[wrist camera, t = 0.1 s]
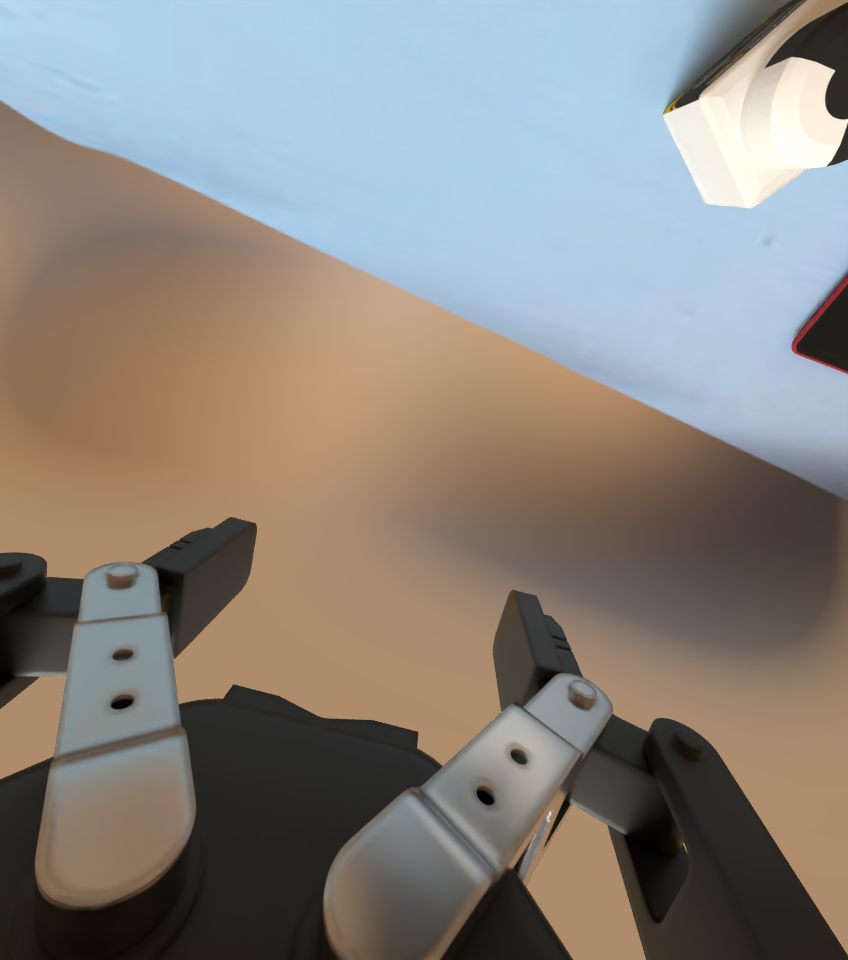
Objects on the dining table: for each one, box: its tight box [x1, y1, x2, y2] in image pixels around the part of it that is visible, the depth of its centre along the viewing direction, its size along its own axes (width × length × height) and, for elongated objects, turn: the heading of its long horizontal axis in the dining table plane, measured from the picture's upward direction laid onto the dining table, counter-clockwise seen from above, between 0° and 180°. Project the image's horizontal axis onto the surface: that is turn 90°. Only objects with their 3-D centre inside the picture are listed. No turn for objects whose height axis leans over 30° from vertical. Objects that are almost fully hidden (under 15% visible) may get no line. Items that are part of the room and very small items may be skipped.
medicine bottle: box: [663, 0, 848, 208], centre depth 24 cm, size 7×7×12 cm
